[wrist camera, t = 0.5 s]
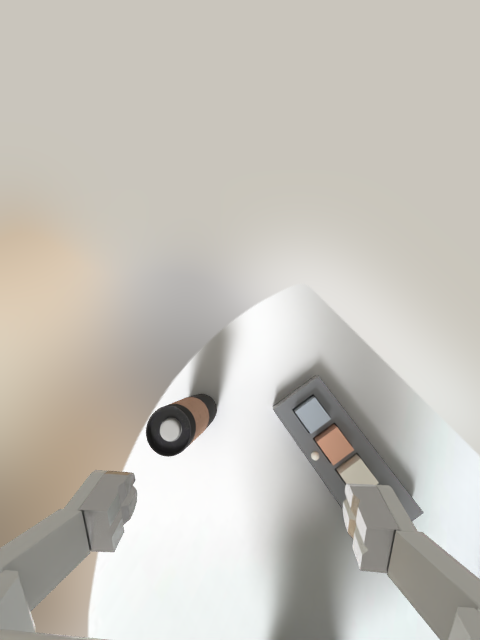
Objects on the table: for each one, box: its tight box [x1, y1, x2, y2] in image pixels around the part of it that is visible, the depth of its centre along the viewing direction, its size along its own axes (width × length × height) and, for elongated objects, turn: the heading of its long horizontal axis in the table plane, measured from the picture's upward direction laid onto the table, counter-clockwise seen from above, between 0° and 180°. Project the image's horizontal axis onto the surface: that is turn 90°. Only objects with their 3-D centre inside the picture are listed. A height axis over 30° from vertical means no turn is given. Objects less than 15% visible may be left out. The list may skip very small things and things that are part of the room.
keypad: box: [273, 376, 423, 521], centre depth 52 cm, size 30×12×4 cm, turn 36°
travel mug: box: [146, 394, 216, 456], centre depth 49 cm, size 8×8×20 cm
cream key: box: [336, 453, 379, 485], centre depth 49 cm, size 5×5×4 cm
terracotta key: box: [314, 424, 354, 465], centre depth 51 cm, size 5×5×4 cm
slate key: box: [294, 395, 331, 434], centre depth 52 cm, size 5×5×4 cm
